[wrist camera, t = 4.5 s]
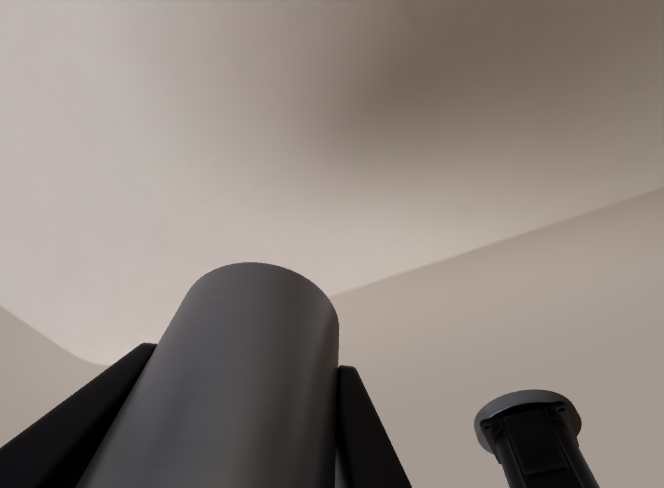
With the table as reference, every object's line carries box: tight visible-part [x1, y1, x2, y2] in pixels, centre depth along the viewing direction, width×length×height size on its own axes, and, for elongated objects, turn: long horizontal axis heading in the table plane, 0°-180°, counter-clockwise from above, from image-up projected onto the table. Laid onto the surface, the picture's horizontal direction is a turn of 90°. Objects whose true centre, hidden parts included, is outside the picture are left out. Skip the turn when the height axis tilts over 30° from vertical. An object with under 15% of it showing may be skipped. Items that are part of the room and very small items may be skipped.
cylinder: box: [75, 262, 339, 488], centre depth 8 cm, size 4×4×6 cm
